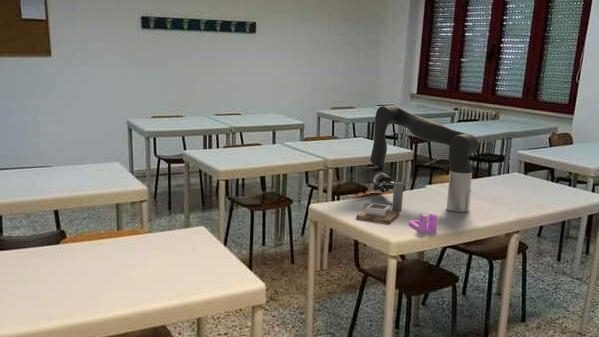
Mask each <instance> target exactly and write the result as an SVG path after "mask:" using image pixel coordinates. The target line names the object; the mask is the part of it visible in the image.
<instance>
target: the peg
mask: <svg viewBox="0 0 599 337" xmlns="http://www.w3.org/2000/svg"><path fill="white" fill-rule="evenodd" d="M403 184H404V182H399V181H395V182H394V190H392V191H393V193H392V205H391V209H392V210H391V211H397V212H399V213H400V212H402V210H403V198H404V197H403V195H404V194H403V193H404V192H403Z"/></svg>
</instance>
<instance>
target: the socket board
mask: <svg viewBox="0 0 599 337" xmlns="http://www.w3.org/2000/svg"><path fill="white" fill-rule="evenodd" d="M391 209H392V205H391V204H390V205H388V204H382V203H376V202H371V203H370V204H369V205H368V206H366V207H365V208H364V209H363V210H362V211H360V212H358V213H357V214H356V216H355V217H356V218H355V219H357V220H361V221H367V222H372V223H378V224H379V223H380V224H387V225H390V224H392V223H393V222H394V221H395V220H396V219H397V218H398V217H399V216H400V212H397V211H393V210H391Z"/></svg>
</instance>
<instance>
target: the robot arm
mask: <svg viewBox="0 0 599 337" xmlns="http://www.w3.org/2000/svg"><path fill="white" fill-rule="evenodd" d="M389 125H397V126H401V127H403V128H406V130H408V131H409V132H410V133H411V134H412V135H413V136H415V137H416V138H419V139H422V140H423V141H426V142H431V143H435V144H436V143H437V144H443V145H446V146H448V166H449V175H448V176H449V177H448V188H447V200H446V209H447V210H449V211H452V212H456V213H468V212H469V210H470V208H471V207H470V204H471V197H472V195H471V194H472V178H473V177H472V176H473V165H472V164H471V163H470V162H469V160H470V159H469V158H470V157H469V156H470V155H472V154H474V153H476V152H477V151H478V149H479V146H480V145H479V141H478V139H477V138H476V137H475V136H474V135H473V134H471V133H468V132H463V131H459V130H455V129H452V128H450V127H447V126H445V125H443V124H442V123H441V124H440V123H438V122H436V121H433V120H431V119H429V118H426V117H422V116H421V115H416V114H413V113H410V112H409V111H406V110H405V109H403V108H401V107H399V106H396V105H395V104H394V105H393V104H388V105H387V104H386V105H381V106H380V107H378V108H377V110H376V112H375V117H374V136H373V144H372V145H373V146H372V150H371V154H370V159H369V161H370V163H371V164H372V165H375V166H377V167H375V166H374V167H373V166H367V167H366V168H365V169H364V170H363V174H362V176H363V178H364V180H365V181H366V182H368V183H371V186H372V190H374V191H376V192H377V191H378V192H381V193H383V194H385V193H387V192H389V191H393V190H394V183H395V182H394V180H393V179H392V178H391V177H390V176H389V175H388V174H386V173H385V160H386V155H387V149H388V144H387V140H386V133H387V132H386V131H387V129H388V126H389ZM404 191H406V184H404V183H403V193H404Z"/></svg>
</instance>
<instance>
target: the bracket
mask: <svg viewBox="0 0 599 337" xmlns="http://www.w3.org/2000/svg"><path fill="white" fill-rule="evenodd" d="M408 225H409V226H410V227H412V228H413V229H416V230H417V231H418V232H419V233H421V234H424V235H425V234H434V233H437V229H438V228H437V227H438V216H437V214H436V213H430V214H429V215H428V216H427V215H426V214H425V213H424V214H420V215H419V217H418V219H410V220H409V222H408Z"/></svg>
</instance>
